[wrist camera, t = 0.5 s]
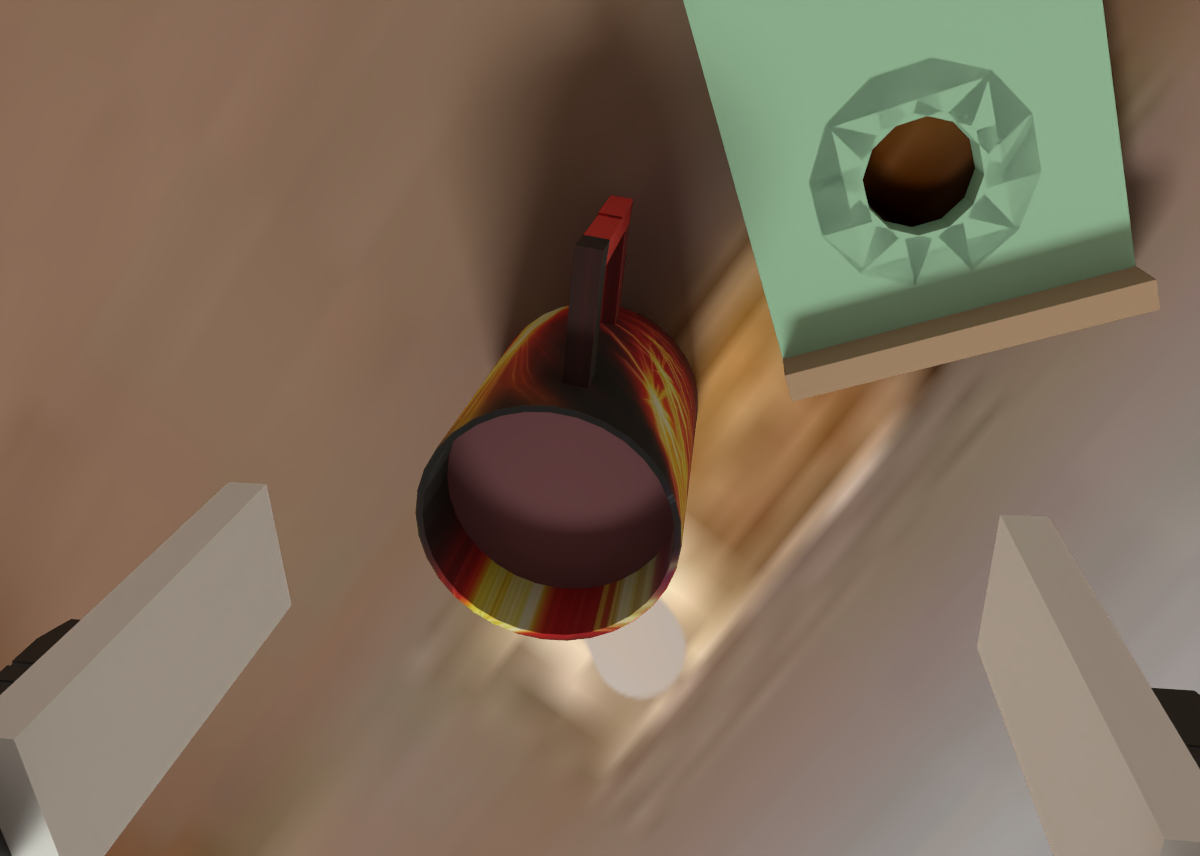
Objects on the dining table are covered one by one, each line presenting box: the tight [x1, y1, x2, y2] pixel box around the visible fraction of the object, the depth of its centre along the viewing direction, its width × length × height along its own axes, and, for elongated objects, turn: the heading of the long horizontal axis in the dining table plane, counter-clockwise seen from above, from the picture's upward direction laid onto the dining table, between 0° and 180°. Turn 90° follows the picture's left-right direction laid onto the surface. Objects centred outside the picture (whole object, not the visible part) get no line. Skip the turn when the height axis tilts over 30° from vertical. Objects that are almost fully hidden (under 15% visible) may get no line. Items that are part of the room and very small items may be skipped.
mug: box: [416, 195, 697, 641], centre depth 37 cm, size 10×14×12 cm
